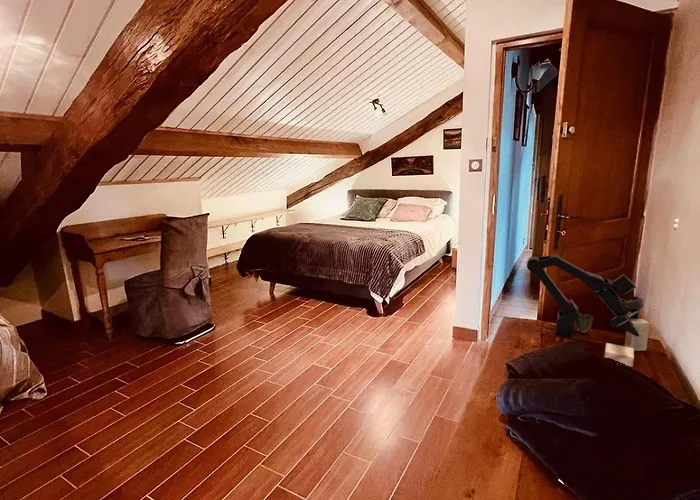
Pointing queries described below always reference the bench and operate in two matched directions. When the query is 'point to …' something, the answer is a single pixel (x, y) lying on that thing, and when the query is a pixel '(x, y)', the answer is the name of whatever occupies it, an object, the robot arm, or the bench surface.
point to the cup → (583, 322)
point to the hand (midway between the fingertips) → (641, 333)
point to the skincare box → (641, 340)
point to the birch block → (620, 354)
